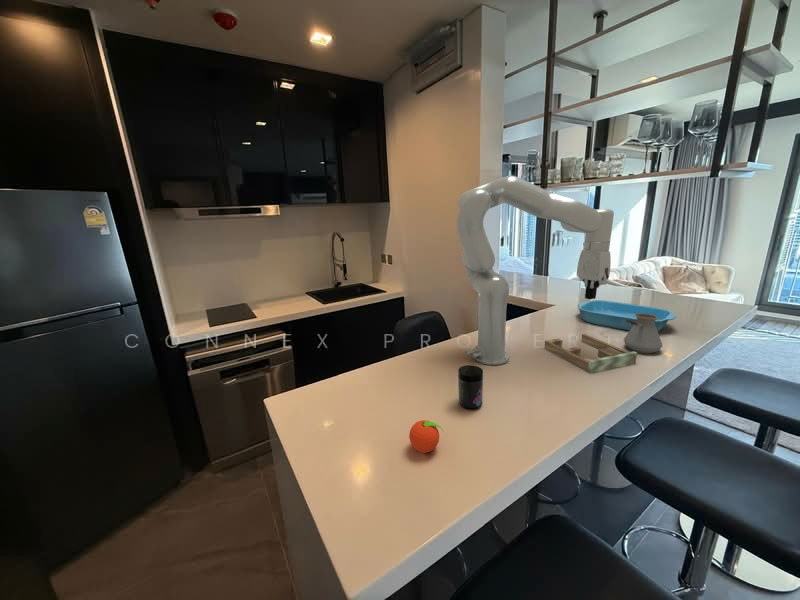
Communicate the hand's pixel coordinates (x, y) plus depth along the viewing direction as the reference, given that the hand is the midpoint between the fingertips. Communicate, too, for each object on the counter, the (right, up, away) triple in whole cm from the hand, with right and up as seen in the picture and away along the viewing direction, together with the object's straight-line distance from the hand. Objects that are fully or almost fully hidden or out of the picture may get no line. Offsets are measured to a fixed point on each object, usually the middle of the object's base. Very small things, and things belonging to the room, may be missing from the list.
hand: (590, 298), depth 117 cm
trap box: (0, -21, +2) cm, 21 cm away
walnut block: (+4, -22, -4) cm, 23 cm away
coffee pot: (+17, -20, +2) cm, 26 cm away
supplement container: (-48, -30, -24) cm, 61 cm away
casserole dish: (+32, -11, +31) cm, 46 cm away
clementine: (-61, -35, -41) cm, 82 cm away
